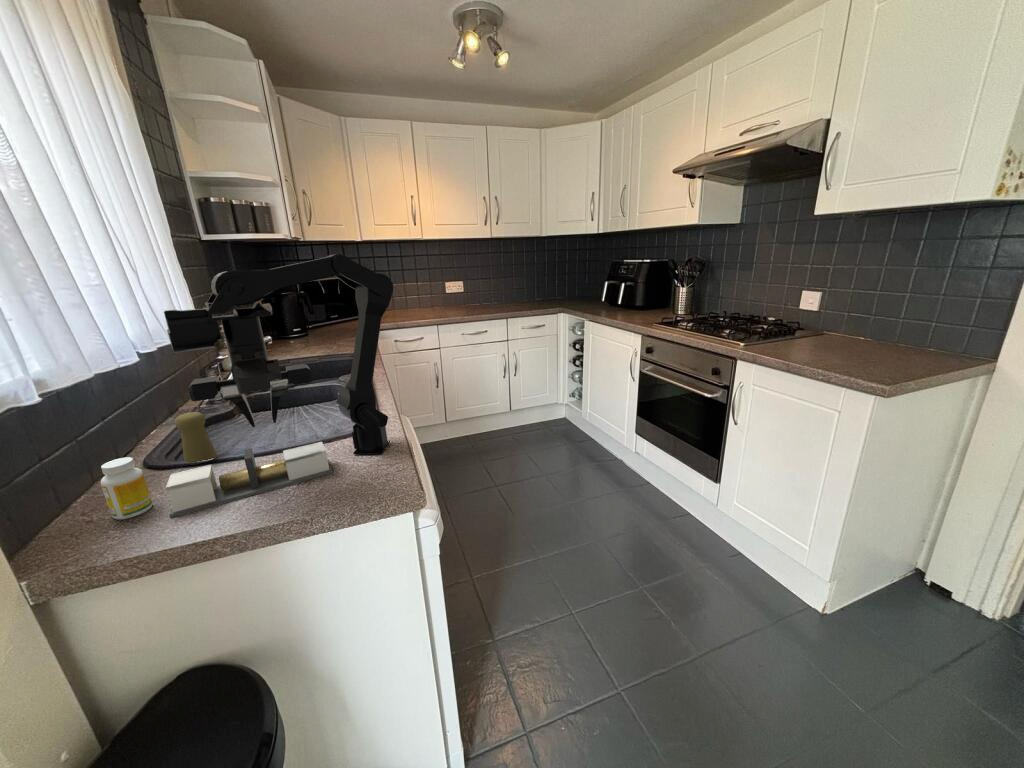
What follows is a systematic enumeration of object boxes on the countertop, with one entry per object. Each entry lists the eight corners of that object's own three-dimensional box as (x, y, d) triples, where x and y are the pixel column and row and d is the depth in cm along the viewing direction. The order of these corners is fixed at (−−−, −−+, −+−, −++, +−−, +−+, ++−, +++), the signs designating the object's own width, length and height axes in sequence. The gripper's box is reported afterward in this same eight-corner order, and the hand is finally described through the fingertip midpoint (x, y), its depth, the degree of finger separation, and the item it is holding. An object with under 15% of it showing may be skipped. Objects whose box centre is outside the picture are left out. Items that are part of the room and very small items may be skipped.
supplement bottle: (104, 521, 68) (85, 471, 66) (129, 504, 74) (113, 456, 71) (138, 518, 69) (120, 468, 66) (161, 501, 74) (145, 454, 71)
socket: (217, 487, 77) (211, 464, 76) (215, 500, 72) (209, 477, 71) (178, 497, 74) (171, 473, 73) (173, 512, 69) (165, 487, 68)
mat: (327, 460, 87) (326, 457, 87) (332, 473, 82) (332, 470, 82) (176, 499, 74) (175, 496, 74) (170, 518, 69) (169, 514, 68)
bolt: (319, 460, 86) (314, 433, 84) (323, 469, 82) (317, 441, 80) (223, 485, 77) (215, 456, 75) (222, 496, 73) (213, 466, 71)
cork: (204, 465, 88) (191, 418, 85) (177, 466, 88) (163, 419, 85) (223, 453, 93) (211, 408, 90) (197, 454, 93) (185, 409, 90)
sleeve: (325, 459, 86) (321, 441, 85) (329, 469, 82) (325, 450, 81) (287, 469, 83) (283, 450, 82) (289, 480, 78) (284, 460, 77)
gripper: (172, 358, 61) (199, 452, 65) (308, 342, 70) (323, 425, 74) (182, 348, 70) (205, 431, 74) (301, 335, 79) (315, 409, 84)
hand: (264, 424), depth 76 cm, fingers open, 3 cm apart
